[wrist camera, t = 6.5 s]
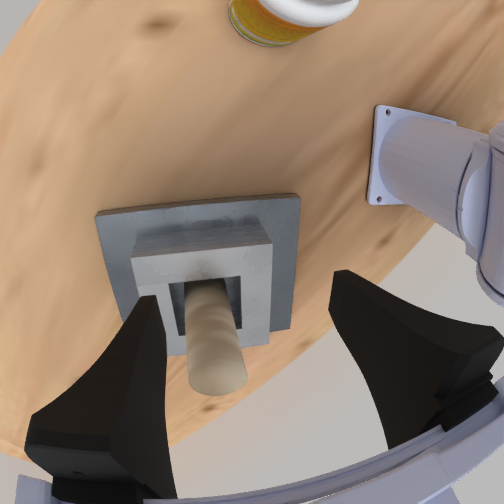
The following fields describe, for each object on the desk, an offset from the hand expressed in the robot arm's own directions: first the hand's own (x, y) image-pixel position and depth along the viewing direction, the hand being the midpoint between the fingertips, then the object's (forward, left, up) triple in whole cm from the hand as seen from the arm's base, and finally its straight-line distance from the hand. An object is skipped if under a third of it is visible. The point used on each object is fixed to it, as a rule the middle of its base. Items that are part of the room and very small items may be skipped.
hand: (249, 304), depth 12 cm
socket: (+2, +5, -10) cm, 12 cm away
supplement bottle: (-3, -14, -11) cm, 18 cm away
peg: (+2, +5, -9) cm, 11 cm away
